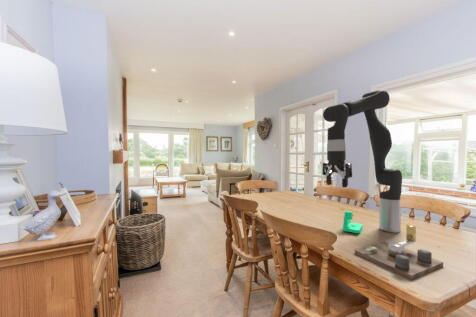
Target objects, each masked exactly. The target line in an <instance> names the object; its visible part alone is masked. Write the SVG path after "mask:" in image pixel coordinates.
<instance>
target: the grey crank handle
mask: <svg viewBox="0 0 476 317" xmlns="http://www.w3.org/2000/svg"><path fill="white" fill-rule="evenodd" d="M405 228H406V232H405V233H406V240H404V241H400V242H394V241H393V242H392V241H391V242H388V243H389V245H388V254H389V255H391V256H393V257H395V255H403V256H404V248H405V247H406V246H409V245H412V244H413V245H414V243H416V242H417V241H416V237H417V234H416V233H417V232H416V231H417V227H416V225H413V224H406V227H405Z"/></svg>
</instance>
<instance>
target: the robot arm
mask: <svg viewBox="0 0 476 317" xmlns="http://www.w3.org/2000/svg"><path fill="white" fill-rule="evenodd" d="M390 98H391V97H390V94H389V93H388V91H387V90H385V89H378V90H374V91H370V92H367V93H364V94H363V95H362V97H359V98H357V99H352V100H351V99H350V100H349V101H348V100H347V101H345V102H342V103H340V104H339V103H338V104H335V105H330V106H327V107H326V108H324V111H323V113H322V117H323V119H324V120H325V121H326V122H329V123H333V122H334V124H333V125H332V126H330V127H328V128H327V135H326V136H327V144H326V160H327V161H328V162H327V161H326V162H323V163H322V175H323V176H325V178H326V179H325V180H326V181H325V182H326V185H327V186H330V185H332V181H333V180H332V175H333V174H334V173H336V174H339V175H340V177H341V178H342V179H341V186H342V188H347V187H348V185H349V179H350V178H352V177H353V170H352V169H353V167H352V166H353V165H352V163H346V159H347V158H346V157H347V156H346V140H345V138H346V134H345V130H346V127H347V123H348V120H349V118H350V117H354V116H355V115H359V114H361V113H363V114H364V117H365V121H366V124H367V127H368V128H367V129H368V134H369V135H368V136H369V140H370V146H371V150H372V156H373V161H374V174H375V180H376V182H377V184H379V185H381V186H389V189H388V190H384V191H380V192H379V205H378V206H379V209H378V210H379V211H378V212H379V217H378V218H379V221H378V222H379V223H378V224H379V225H378V226H379V230H381V231H384V232H388V233H393V234H394V233H395V234H396V233H400V232H401V229H402V228H401V227H402V226H401V224H402V223H401V222H402V221H401V220H402V219H401V218H402V217H401V195H402V187H403V184H402V183H403V174H402V171H401V170H400V169H397V168H386V159H387V156H388V154H389V153H390V150H391V149H392V146H393V142H392V136H391V131H390V130H389V128H388V127H386V126H385V125H384V124H383V122H382V121H381V120H380V119H379V117H378V116H377V113H376V110H379V109H383V108H386V107H387V106H388V105H389V103H390V100H391V99H390Z"/></svg>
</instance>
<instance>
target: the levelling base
mask: <svg viewBox="0 0 476 317" xmlns="http://www.w3.org/2000/svg"><path fill="white" fill-rule="evenodd" d="M389 243H390V242H389V241H381V242H378V243H373V244H371V245H368V246H364V247H359V248H356V249H354V254H355V255H357V256H359V257H362V258H364V259H366V260H368V261H370V262H372V263H375V264H376V265H379V266H381V267H383V268H385V269H388V270H390V271H391V272H393V273H396V274H398V275H400V276H402V277H404V278H406V279H409V280H411V281H414V280H415V279H418V278H419V277H422V276H424V275H427V274H428V273H432V272H433V271H435V270H438V269H440V268H442V267H444V262H443V261H441V260H438V259H436V258H432V255H433V254H432V252H431V251H429V250H426V249H421V248H419V249H417V252H415V251H413V250H410V249H407V248H406V247H404V256H403V255H395V257H393V256H391V255H389V254H388V245H389Z"/></svg>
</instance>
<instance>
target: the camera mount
mask: <svg viewBox="0 0 476 317" xmlns="http://www.w3.org/2000/svg"><path fill="white" fill-rule="evenodd" d="M353 216H354V213H353V211H349V210H344V216H343V224H342V231H344V232H348V233H349V232H350V233H354V234H361V233H362V232H363V230H362V229H363V227H364V226H363V224H362V223H357V222H351V220H353Z"/></svg>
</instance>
